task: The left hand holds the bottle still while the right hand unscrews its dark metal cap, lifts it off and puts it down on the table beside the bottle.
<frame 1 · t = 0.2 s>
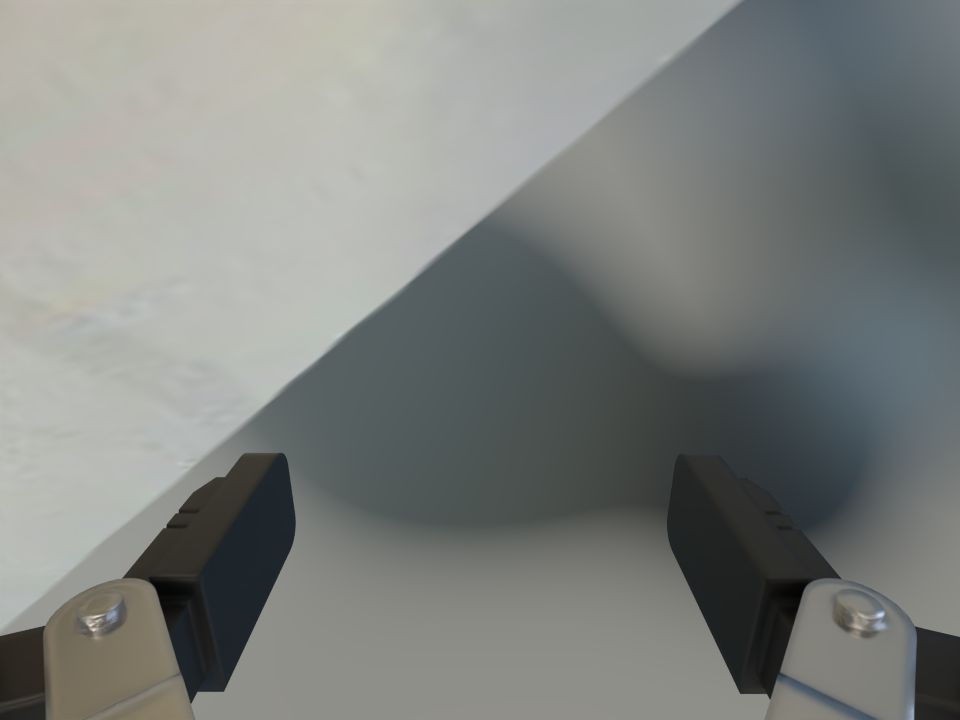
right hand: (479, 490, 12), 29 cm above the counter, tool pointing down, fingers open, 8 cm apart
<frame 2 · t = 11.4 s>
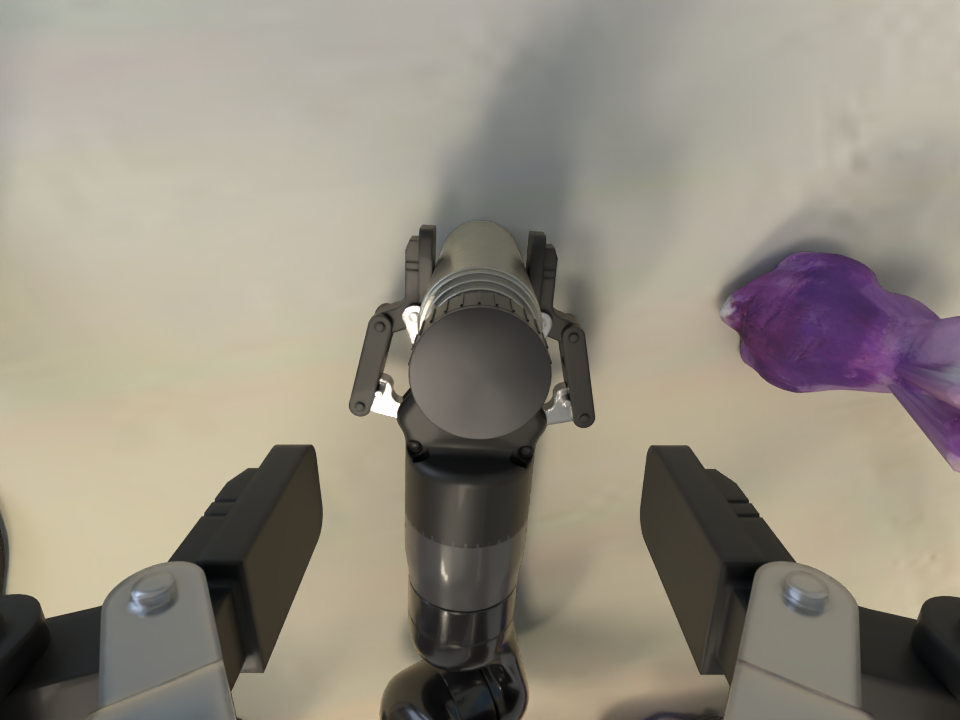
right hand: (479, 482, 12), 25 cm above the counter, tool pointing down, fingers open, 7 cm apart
left hand: (482, 231, 28), fingers closed on bottle, 5 cm apart
cap: (480, 373, 18), point 19 cm above the counter, screwed on, not yet turned
bottle: (479, 260, 35), on the counter, touching left hand
figurine: (805, 307, 36), on the counter
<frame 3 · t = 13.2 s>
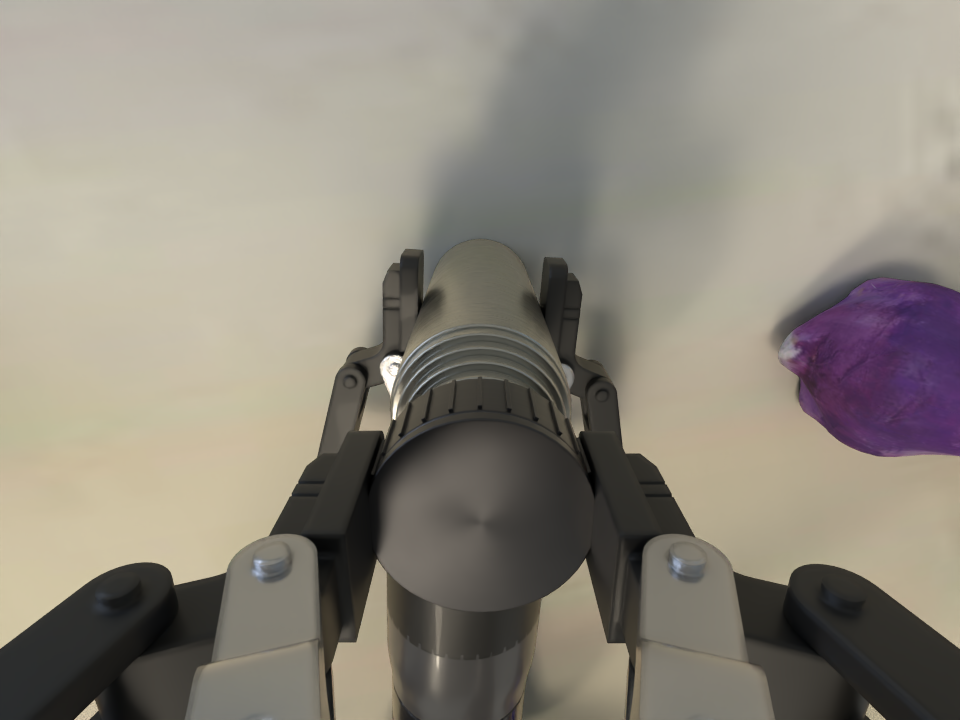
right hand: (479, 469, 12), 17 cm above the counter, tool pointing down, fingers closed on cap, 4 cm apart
cap: (481, 513, 11), point 19 cm above the counter, screwed on, not yet turned, touching right hand
bottle: (480, 287, 28), on the counter, touching left hand
figurine: (880, 345, 29), on the counter
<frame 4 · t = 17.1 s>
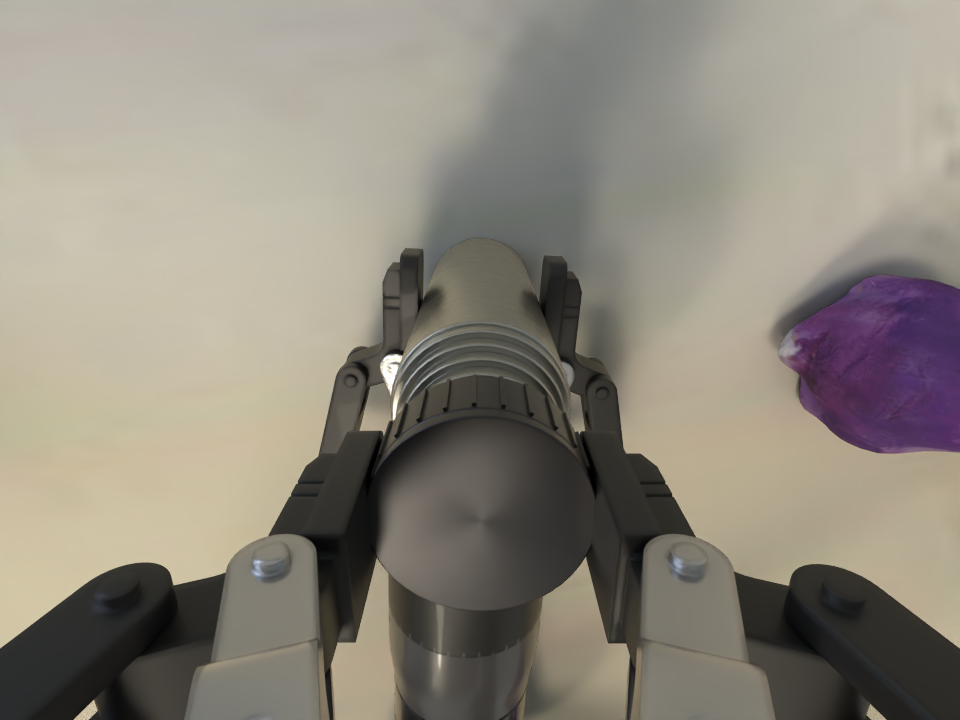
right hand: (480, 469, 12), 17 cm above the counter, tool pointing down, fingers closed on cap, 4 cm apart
cap: (480, 511, 11), point 19 cm above the counter, turned 99° so far, risen 0.1 cm, still on its thread, touching right hand
bottle: (480, 287, 28), on the counter, touching left hand
figurine: (880, 342, 29), on the counter
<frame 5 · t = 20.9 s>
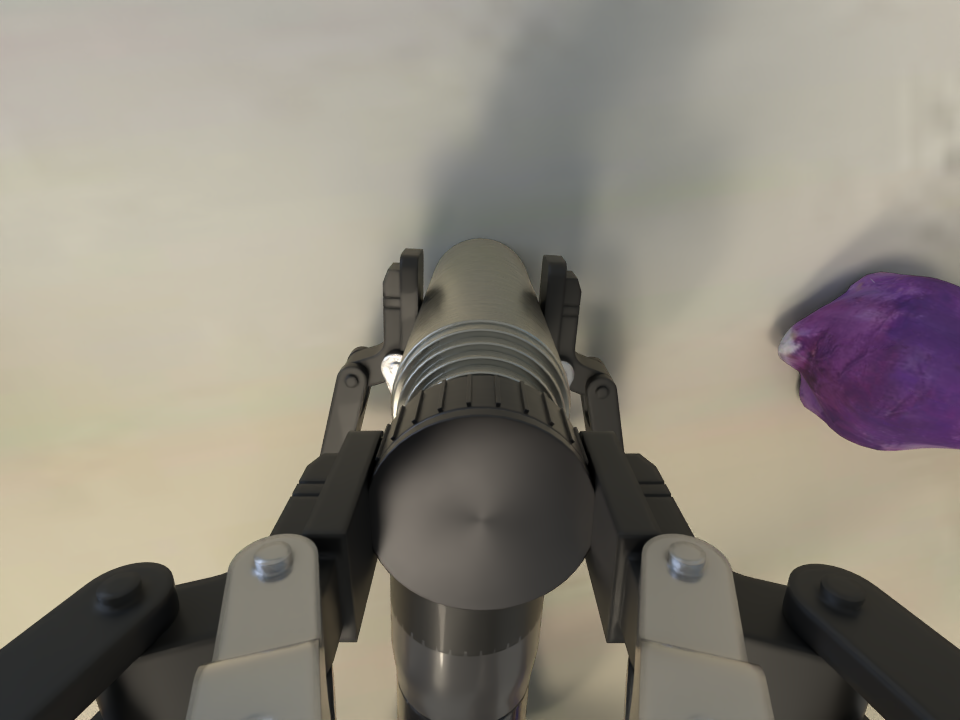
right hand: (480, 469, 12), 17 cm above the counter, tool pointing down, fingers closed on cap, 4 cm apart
cap: (481, 510, 11), point 19 cm above the counter, turned 198° so far, risen 0.2 cm, still on its thread, touching right hand
bottle: (480, 287, 28), on the counter, touching left hand
figurine: (880, 339, 29), on the counter
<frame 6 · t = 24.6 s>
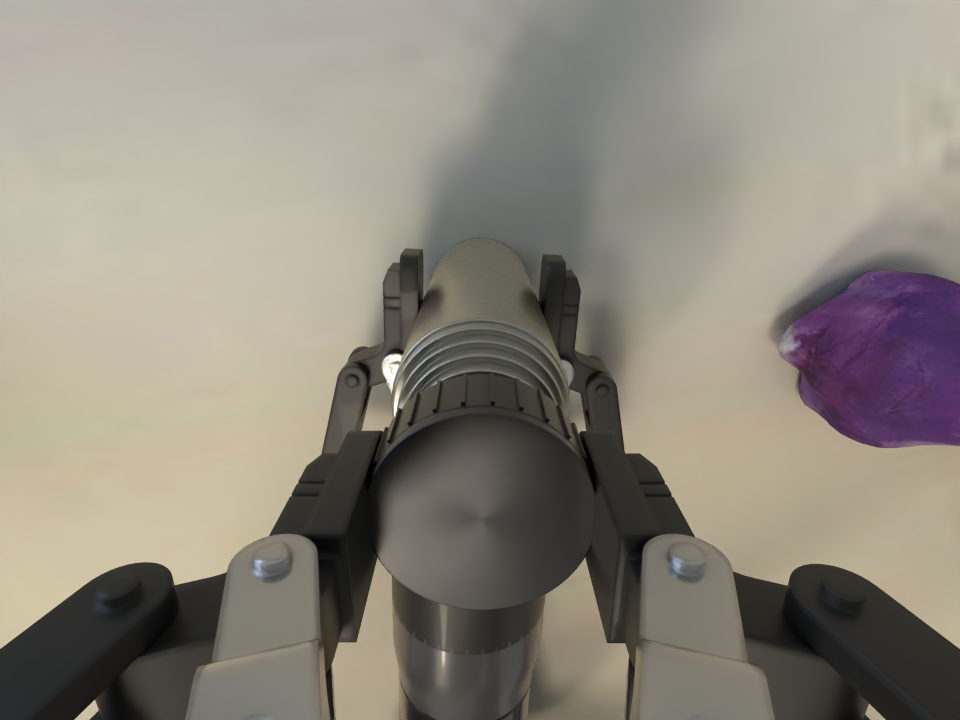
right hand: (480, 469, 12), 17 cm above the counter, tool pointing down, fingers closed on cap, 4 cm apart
cap: (481, 510, 11), point 19 cm above the counter, turned 298° so far, risen 0.3 cm, still on its thread, touching right hand
bottle: (480, 286, 28), on the counter, touching left hand
figurine: (880, 337, 29), on the counter
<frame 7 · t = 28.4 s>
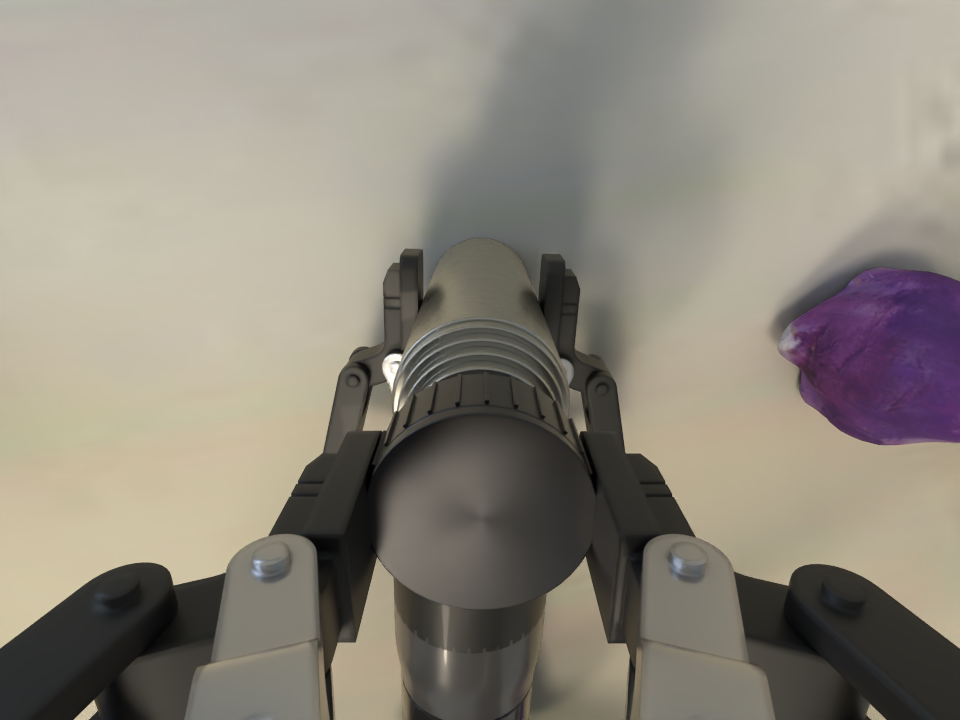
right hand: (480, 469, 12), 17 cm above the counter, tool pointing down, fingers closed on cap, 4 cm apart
cap: (481, 509, 11), point 19 cm above the counter, turned 397° so far, risen 0.4 cm, still on its thread, touching right hand
bottle: (480, 286, 28), on the counter, touching left hand
figurine: (880, 334, 29), on the counter
when the right hand's fingers open (1 cm above the counter, at t = 35.1 s): cap drops 1 cm, point 2 cm above the counter.
when the left hand's fingers open (6 cm above the counter, at t = 36.2 s): bottle stays where it is, on the counter.
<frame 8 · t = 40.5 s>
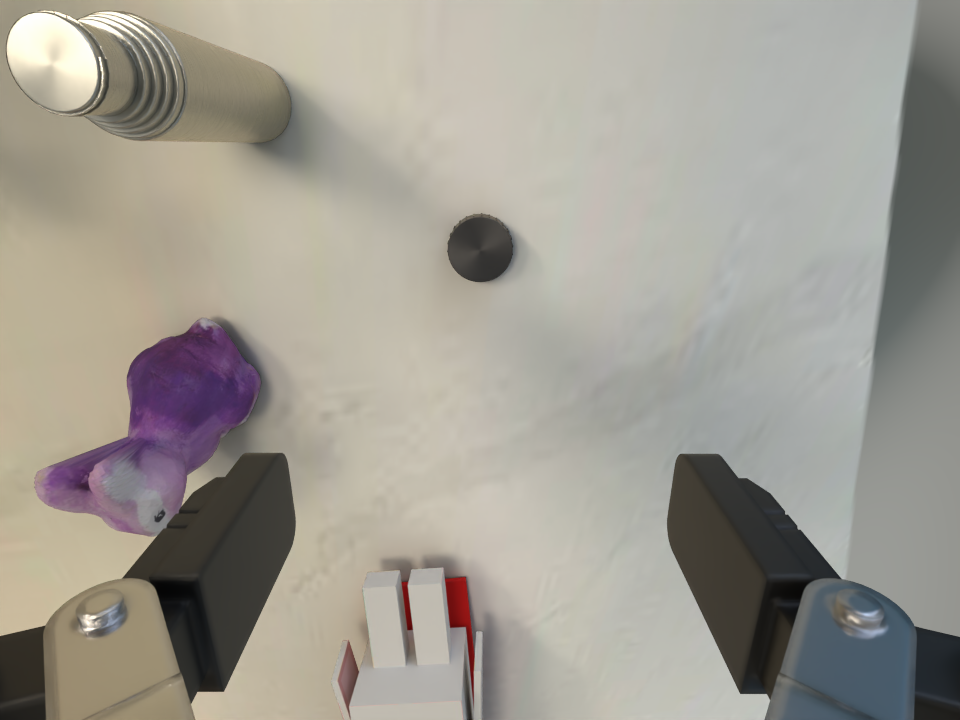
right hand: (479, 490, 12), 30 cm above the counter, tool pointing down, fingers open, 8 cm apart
cap: (480, 249, 38), point 2 cm above the counter, off its thread
bottle: (253, 102, 37), on the counter
toy: (427, 669, 55), on the counter
figurine: (215, 387, 44), on the counter
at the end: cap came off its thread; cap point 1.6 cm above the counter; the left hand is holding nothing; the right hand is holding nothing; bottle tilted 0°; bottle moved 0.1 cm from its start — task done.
